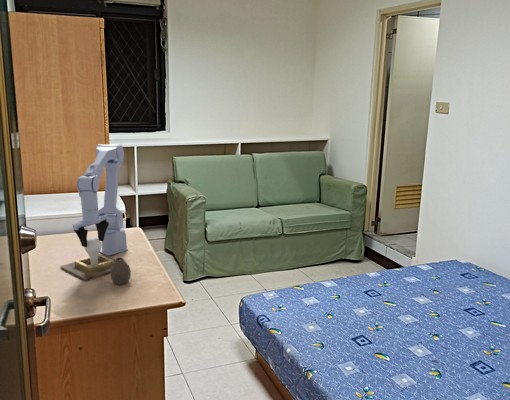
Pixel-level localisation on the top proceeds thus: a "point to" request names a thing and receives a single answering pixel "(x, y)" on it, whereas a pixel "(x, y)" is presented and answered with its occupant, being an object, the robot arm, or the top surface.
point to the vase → (120, 272)
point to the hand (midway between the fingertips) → (93, 243)
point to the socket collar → (82, 265)
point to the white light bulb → (93, 249)
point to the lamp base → (83, 274)
